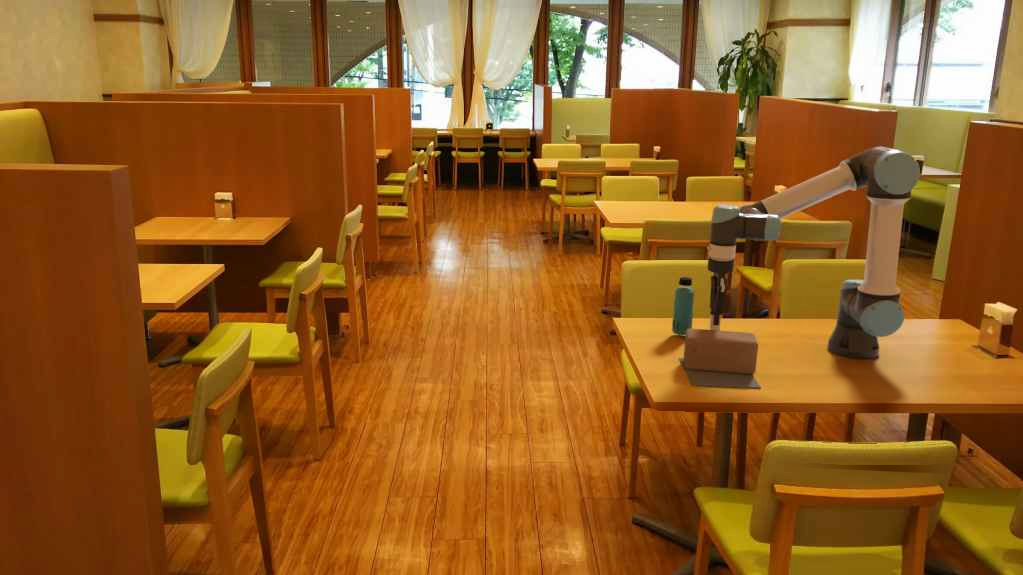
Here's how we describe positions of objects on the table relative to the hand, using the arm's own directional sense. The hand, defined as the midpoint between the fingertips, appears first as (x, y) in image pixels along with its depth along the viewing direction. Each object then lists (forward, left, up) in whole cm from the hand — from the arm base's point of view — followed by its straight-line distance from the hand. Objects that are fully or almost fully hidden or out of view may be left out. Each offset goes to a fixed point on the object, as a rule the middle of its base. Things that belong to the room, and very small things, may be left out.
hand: (714, 334), depth 247 cm
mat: (0, +12, -8) cm, 15 cm away
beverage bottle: (+6, -21, -8) cm, 23 cm away
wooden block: (-11, +9, -3) cm, 14 cm away
